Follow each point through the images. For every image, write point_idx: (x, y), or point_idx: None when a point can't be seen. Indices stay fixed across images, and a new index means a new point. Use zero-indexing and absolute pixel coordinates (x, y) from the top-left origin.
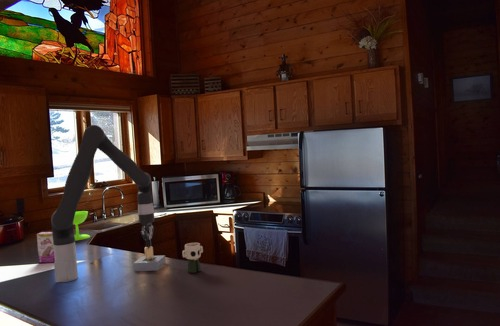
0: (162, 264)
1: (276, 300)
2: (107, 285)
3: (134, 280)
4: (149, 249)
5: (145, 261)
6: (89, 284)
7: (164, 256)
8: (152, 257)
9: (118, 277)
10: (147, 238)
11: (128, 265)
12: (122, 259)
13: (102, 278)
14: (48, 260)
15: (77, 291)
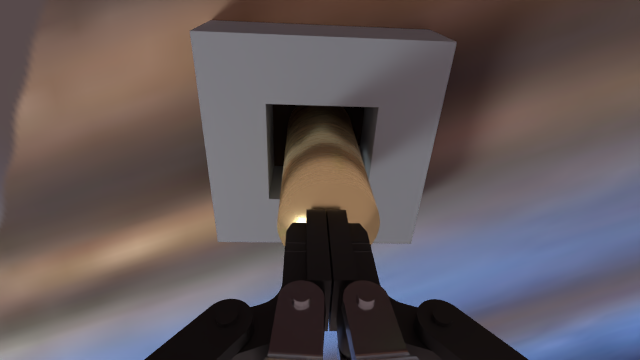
0: (301, 25)
1: None
2: (618, 253)
3: (611, 138)
4: (371, 195)
5: (390, 169)
6: (551, 328)
7: (213, 31)
8: (338, 132)
9: (494, 249)
10: (471, 324)
11: (259, 276)
12: (134, 341)
13: (477, 312)
14: None
15: (630, 333)
